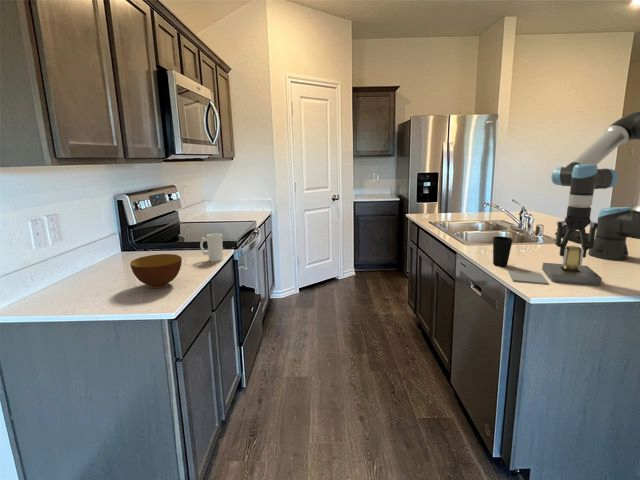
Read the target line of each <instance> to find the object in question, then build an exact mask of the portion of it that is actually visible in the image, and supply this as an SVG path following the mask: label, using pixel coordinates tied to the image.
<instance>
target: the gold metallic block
mask: <svg viewBox="0 0 640 480" xmlns="http://www.w3.org/2000/svg"><path fill="white" fill-rule="evenodd" d="M565 248H567V256H566V263H565V265H564V267H563V271H565V272H578V265H579V258H580V252H581V248H582V247H581V246H576V245H566V247H565Z"/></svg>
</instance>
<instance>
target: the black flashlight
mask: <svg viewBox="0 0 640 480" xmlns="http://www.w3.org/2000/svg"><path fill="white" fill-rule="evenodd" d="M567 228H568V226H567V224H566V223H565V224H564V226H563V231H562V238H561V239H563V238H564V236H565V233H566V231H567ZM585 234H586V241H587V244H588V238H589V232H585ZM554 235H555V236H556V235H557V231H556V232H555V233H554ZM568 242H573V243H575V244H579V245H581V238H580V232H579V230H573V232H572V234H571V236H570V238H569V241H568Z"/></svg>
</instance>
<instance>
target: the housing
mask: <svg viewBox="0 0 640 480" xmlns="http://www.w3.org/2000/svg"><path fill="white" fill-rule="evenodd" d="M563 267H564V265H562V264H561V263H555V262H554V263H553V262H551V263H550V262H542V269H541V270H542V271H543V273H544V274H545V276H547V278H548V279H549V280H550V281H551V283H562V284H563V283H564V284H575V285H576V284H577V285H585V286H586V285H588V286H601V285H602V280H603V278H602V277H601V276H600V275H599V274H598V273H596V272H595V271H594V270H593V269H591V267H589V266H588V265H582V266H578V272H565V271H563Z"/></svg>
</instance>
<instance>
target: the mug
mask: <svg viewBox="0 0 640 480" xmlns="http://www.w3.org/2000/svg"><path fill="white" fill-rule="evenodd" d="M204 242H206V243H207V251H206V250H205V249H204V246H203V244H204ZM199 247H200V250H201V252H202V254H203V255H207V256H208V260H209V262H211V263H212V262H215V263H216V262H217V263H218V262H221V261H223V260H224V253H223V252H224V251H223V234H222V233H218V232H217V233H216V232H215V233H208V234H206V237H201V240H200V244H199Z"/></svg>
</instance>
